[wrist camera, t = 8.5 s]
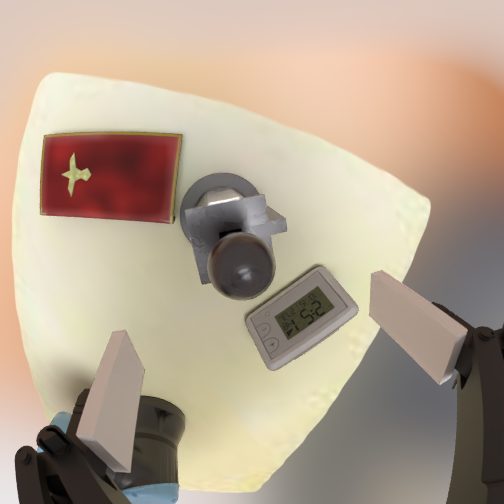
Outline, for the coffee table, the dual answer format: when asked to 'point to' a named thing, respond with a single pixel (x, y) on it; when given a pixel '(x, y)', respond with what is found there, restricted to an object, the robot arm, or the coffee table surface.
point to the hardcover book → (110, 175)
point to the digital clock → (300, 318)
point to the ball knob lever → (241, 265)
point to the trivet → (207, 184)
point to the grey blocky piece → (228, 221)
